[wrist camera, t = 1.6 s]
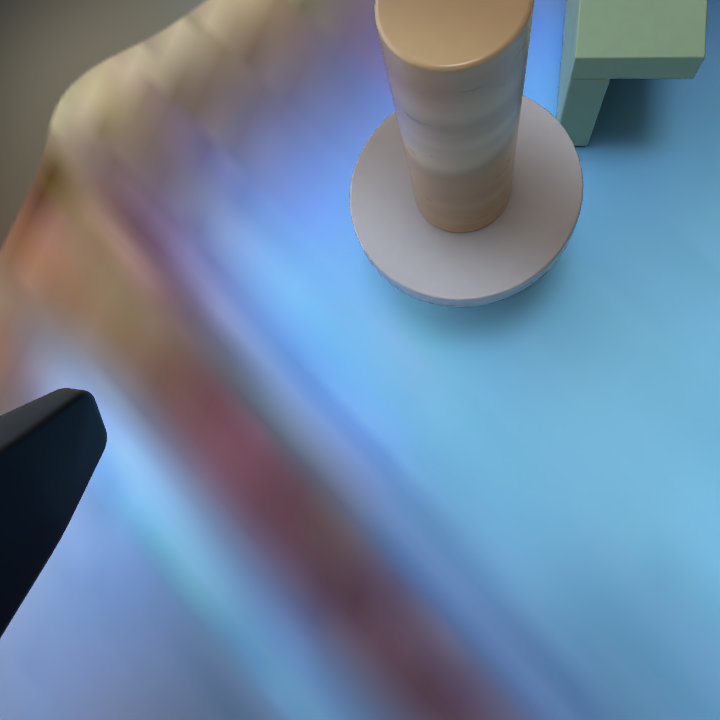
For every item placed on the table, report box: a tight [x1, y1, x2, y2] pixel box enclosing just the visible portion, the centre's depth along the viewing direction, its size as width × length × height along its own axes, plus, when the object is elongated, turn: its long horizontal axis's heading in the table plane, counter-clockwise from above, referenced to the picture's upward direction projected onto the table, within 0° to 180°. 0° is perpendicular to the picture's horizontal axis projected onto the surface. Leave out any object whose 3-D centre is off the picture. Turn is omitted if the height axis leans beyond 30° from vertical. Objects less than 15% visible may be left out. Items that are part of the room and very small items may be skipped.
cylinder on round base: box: [350, 0, 583, 307], centre depth 17 cm, size 7×7×12 cm
